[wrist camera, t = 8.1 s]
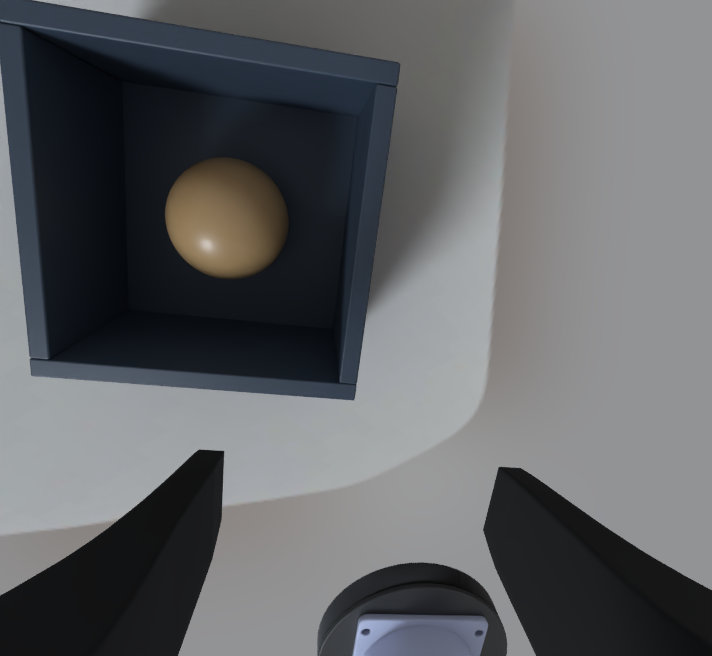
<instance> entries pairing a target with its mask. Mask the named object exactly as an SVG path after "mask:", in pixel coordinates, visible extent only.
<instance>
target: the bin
mask: <svg viewBox="0 0 712 656" xmlns="http://www.w3.org/2000/svg"><path fill="white" fill-rule="evenodd" d="M0 64H1V74H2V84H3V94H4V104H5V114H6V124H7V134H8V144H9V154H10V164H11V174H12V184H13V194H14V204H15V214H16V224H17V234H18V244H19V254H20V264H21V274H22V284H23V294H24V304H25V314H26V324H27V334H28V344H29V354H30V358H31V359H30V367H31V375H32V376H39V377H52V378H65V379H78V380H92V381H105V382H118V383H131V384H145V385H158V386H171V387H184V388H198V389H211V390H224V391H237V392H251V393H264V394H277V395H290V396H304V397H317V398H330V399H343V400H354V399H355V392H356V383H357V378H358V370H359V363H360V356H361V349H362V341H363V334H364V327H365V319H366V312H367V305H368V298H369V290H370V283H371V276H372V269H373V261H374V254H375V247H376V239H377V232H378V225H379V218H380V210H381V203H382V196H383V189H384V181H385V174H386V167H387V159H388V152H389V145H390V138H391V130H392V123H393V116H394V109H395V101H396V94H397V88H396V87H397V85H398V79H399V72H400V63H398V62H393V61H387V60H381V59H376V58H370V57H364V56H358V55H352V54H346V53H340V52H334V51H328V50H322V49H317V48H311V47H305V46H299V45H293V44H287V43H281V42H275V41H269V40H263V39H258V38H252V37H246V36H240V35H234V34H228V33H222V32H216V31H210V30H204V29H199V28H193V27H187V26H181V25H175V24H169V23H163V22H157V21H151V20H145V19H140V18H134V17H128V16H122V15H116V14H110V13H104V12H98V11H92V10H86V9H81V8H75V7H69V6H63V5H57V4H51V3H45V2H39V1H33V0H0ZM218 157H227V158H235V159H240V160H243V161H246V162H248V163H250V164H252V165H254V166H256V167H258V168H259V169H261V170H262V171H263V172H265V173H266V174H267V175H268V176H269V177H270V178H271V179H272V180H273V181H274V182H275V184H276V185H277V187H278V188H279V190H280V192H281V193H282V195H283V198H284V200H285V203H286V206H287V210H288V217H289V229H288V235H287V239H286V242H285V245H284V247H283V249H282V251H281V252H280V254H279V256H278V257H277V258H276V259H275V261H274V262H273V263H271V264H270V265H269V266H268V267H267V268H266V269H264V270H263V271H261V272H259V273H257V274H255V275H253V276H250V277H247V278H242V279H221V278H215V277H212V276H209V275H207V274H204V273H202V272H200V271H198V270H197V269H195V268H194V267H192V266H191V265H190V264H188V263H187V262H186V261H185V260H184V259H183V258H182V257H181V255H180V254H179V253H178V252H177V250H176V248H175V247H174V245H173V243H172V241H171V239H170V237H169V234H168V231H167V226H166V220H165V208H166V202H167V198H168V195H169V192H170V190H171V188H172V186H173V184H174V183H175V181H176V180H177V179H178V177H179V176H180V175H181V174H182V173H183V172H184V171H185V170H187V169H188V168H189V167H191V166H192V165H194V164H196V163H198V162H200V161H203V160H206V159H211V158H218Z"/></svg>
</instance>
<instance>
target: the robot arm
mask: <svg viewBox="0 0 712 656" xmlns="http://www.w3.org/2000/svg"><path fill="white" fill-rule="evenodd" d="M223 466H224V451H213V450H198V451H197V452H195V453H194V454H193V455H192V456H191V457H190V458H189V459H188V460H187V461H186V462H185V463H184V464H183V465H182V466H181V467H179V468H178V469H177V470H176V471H175V472H174V473H173V474H172V475H171V476H170V477H169V478H168V479H167V480H165V481H164V482H163V483H162V484H161V485H160V486H159V487H158V488H156V489H155V490H154V491H153V492H152V493H151V494H150V495H148V496H147V497H146V498H145V499H144V500H143V501H142V502H140V503H139V504H138V505H137V506H136V507H134V508H133V509H132V510H131V511H129V512H128V513H127V514H125V515H124V516H123V517H122V518H120V519H119V520H118V521H117V522H115V523H114V524H113V525H112V526H111V527H109V528H108V529H106V530H105V531H104V532H103V533H101V534H100V535H98V536H97V537H95V538H94V539H93V540H91V541H90V542H88V543H87V544H85V545H84V546H82V547H81V548H79V549H78V550H76V551H75V552H74V553H72V554H70V555H69V556H67V557H66V558H64V559H62V560H61V561H59V562H58V563H56V564H54V565H52V566H51V567H49V568H47V569H46V570H44V571H42V572H41V573H39V574H37V575H36V576H34V577H32V578H31V579H29V580H27V581H25V582H24V583H22V584H20V585H19V586H17V587H15V588H14V589H12V590H10V591H8V592H6V593H4V594H2V595H1V596H0V656H178V654H179V651H180V648H181V645H182V643H183V639H184V637H185V634H186V631H187V629H188V626H189V623H190V620H191V617H192V614H193V611H194V609H195V606H196V603H197V600H198V598H199V595H200V592H201V589H202V586H203V584H204V581H205V578H206V575H207V572H208V569H209V567H210V563H211V561H212V557H213V553H214V549H215V545H216V541H217V536H218V532H219V528H220V523H221V517H222V492H223ZM483 531H484V534H485V537H486V540H487V544H488V547H489V550H490V553H491V556H492V559H493V562H494V565H495V568H496V570H497V573H498V575H499V577H500V579H501V581H502V583H503V586H504V588H505V590H506V592H507V594H508V596H509V599H510V601H511V603H512V605H513V607H514V609H515V612H516V613H517V616H518V618H519V620H520V622H521V624H522V626H523V628H524V631H525V633H526V635H527V637H528V639H529V641H530V643H531V646H532V648H533V650H534V652H535V654H536V656H712V590H710V589H708V588H706V587H704V586H703V585H701V584H699V583H697V582H695V581H693V580H691V579H690V578H688V577H686V576H684V575H682V574H681V573H679V572H677V571H675V570H674V569H672V568H670V567H668V566H667V565H665V564H663V563H662V562H660V561H658V560H656V559H654V558H653V557H651V556H650V555H648V554H646V553H645V552H643V551H641V550H640V549H638V548H636V547H635V546H633V545H632V544H630V543H629V542H627V541H626V540H624V539H623V538H621V537H620V536H618V535H617V534H615V533H614V532H612V531H611V530H609V529H608V528H606V527H605V526H603V525H602V524H600V523H599V522H597V521H596V520H595V519H593V518H592V517H590V516H589V515H587V514H586V513H585V512H583V511H582V510H580V509H579V508H578V507H576V506H575V505H573V504H572V503H570V502H569V501H568V500H566V499H565V498H564V497H562V496H561V495H559V494H558V493H557V492H555V491H554V490H552V489H551V488H550V487H548V486H547V485H545V484H544V483H543V482H541V481H540V480H538V479H537V478H535V477H534V476H532V475H531V474H529V473H528V472H526V471H524V470H523V469H521V468H509V467H499V468H498V472H497V476H496V480H495V485H494V489H493V493H492V497H491V501H490V505H489V509H488V513H487V517H486V521H485V525H484V529H483ZM487 629H488V623H487V620H486V618H485V617H483V616H467V615H410V614H364V615H362V616H361V617H359V619H358V624H357V630H356V636H355V642H354V648H353V654H352V656H480V653H481V650H482V646H483V643H484V639H485V636H486V632H487Z"/></svg>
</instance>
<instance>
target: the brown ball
mask: <svg viewBox="0 0 712 656" xmlns="http://www.w3.org/2000/svg"><path fill="white" fill-rule="evenodd" d="M165 220H166V226H167V231H168V234H169V237H170V239H171V241H172V243H173V245H174V247H175V248H176V250H177V252H178V253H179V254H180V255H181V257H182V258H183V259H184V260H185V261H186V262H187V263H188V264H190V265H191V266H192V267H194V268H195V269H197V270H198V271H200V272H202V273H204V274H207V275H209V276H212V277H215V278H221V279H242V278H247V277H250V276H253V275H255V274H257V273H259V272H261V271H263V270H264V269H266V268H267V267H268V266H269V265H270V264H271V263H273V262H274V261H275V259H276V258H277V257H278V256H279V254H280V252H281V251H282V249H283V247H284V245H285V242H286V239H287V235H288V229H289V217H288V210H287V206H286V203H285V200H284V198H283V195H282V193H281V192H280V190H279V188H278V187H277V185H276V184H275V182H274V181H273V180H272V179H271V178H270V177H269V176H268V175H267V174H266V173H265V172H263V171H262V170H261V169H259V168H258V167H256V166H254V165H252V164H250V163H248V162H246V161H243V160H240V159H235V158H227V157H218V158H211V159H206V160H203V161H200V162H198V163H196V164H194V165H192V166H191V167H189V168H188V169H187V170H185V171H184V172H183V173H182V174H181V175H180V176H179V177H178V179H177V180H176V181H175V183H174V184H173V186H172V188H171V190H170V192H169V195H168V198H167V202H166V208H165Z"/></svg>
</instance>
